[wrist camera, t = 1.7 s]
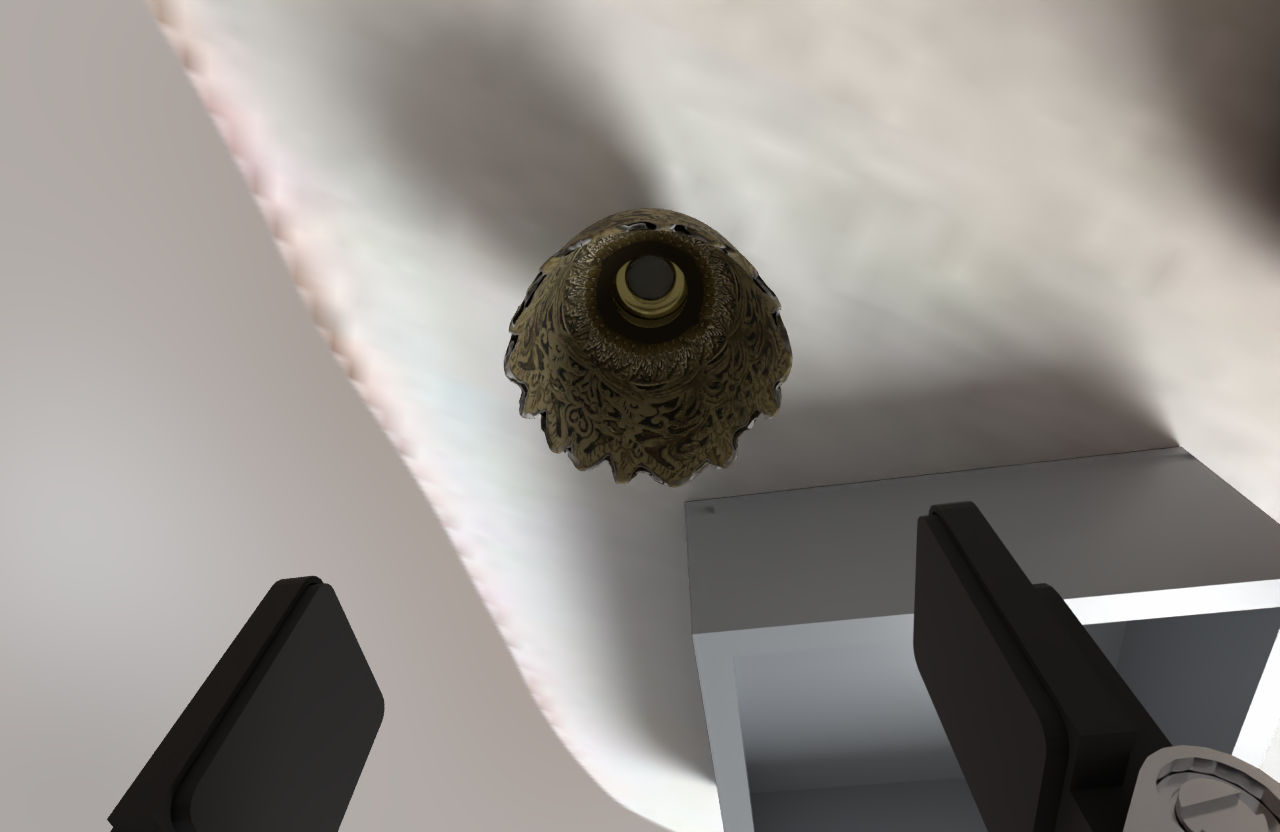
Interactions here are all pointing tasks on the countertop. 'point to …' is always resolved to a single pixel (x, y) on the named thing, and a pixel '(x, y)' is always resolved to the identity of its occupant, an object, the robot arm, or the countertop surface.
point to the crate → (884, 621)
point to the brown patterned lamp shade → (648, 349)
